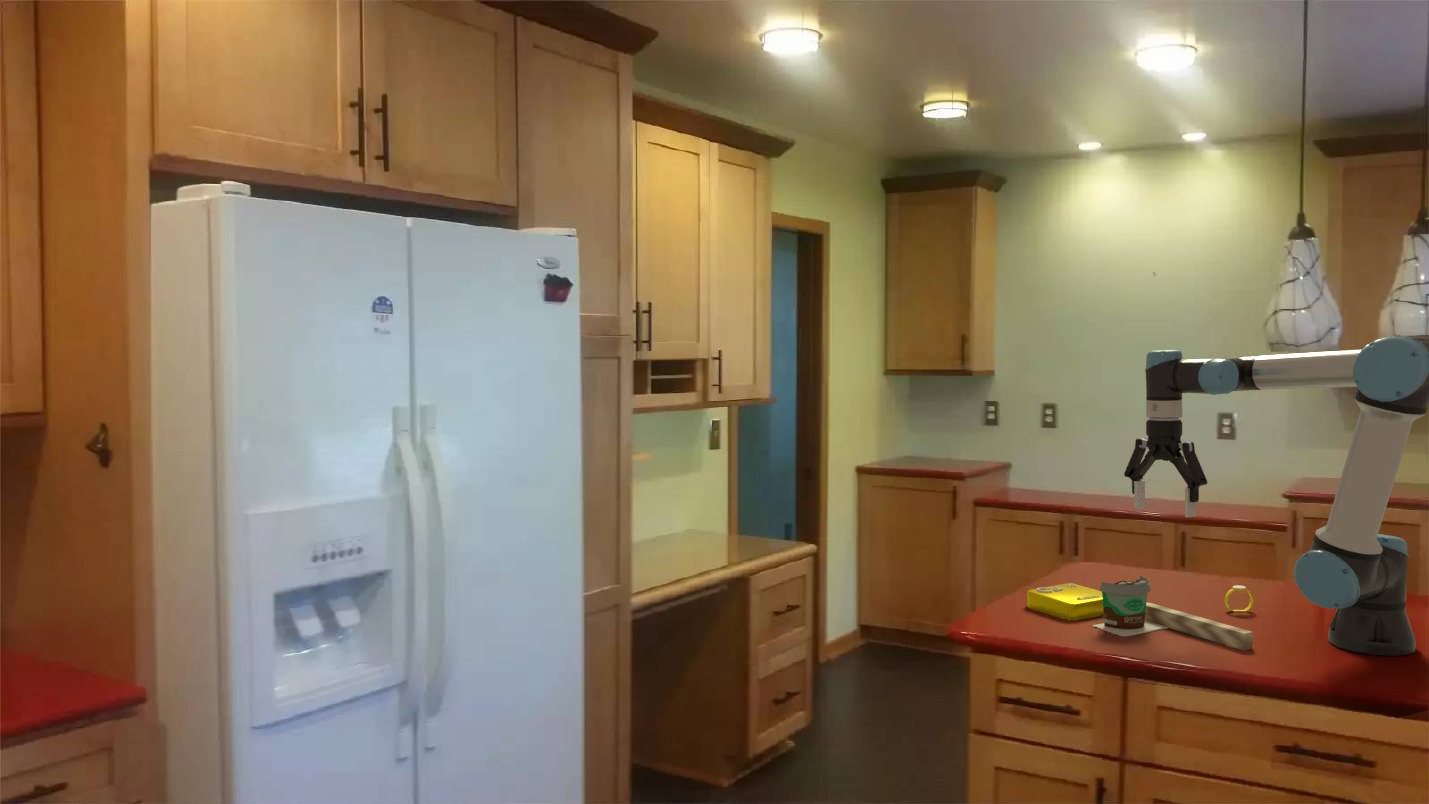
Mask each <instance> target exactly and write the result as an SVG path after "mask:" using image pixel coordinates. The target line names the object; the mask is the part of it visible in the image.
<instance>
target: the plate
mask: <svg viewBox="0 0 1429 804" xmlns="http://www.w3.org/2000/svg"><path fill="white" fill-rule="evenodd" d="M1092 627H1093V628H1095V627H1097V628H1096V629H1098V628H1100V629H1099V630H1101V629H1103V630H1102V631H1104V630H1105V632H1107V631H1108V632H1107V633H1110V632H1111V634H1113V635H1116V634H1117V636H1119V637H1122V636H1123V638H1125V636H1126V637H1130V636H1135V635H1140V634H1146V633H1151V632H1155V631H1162V630H1167V629H1169V628H1168V627H1166V626H1163V625H1159V624H1156V623H1153V622H1150V621H1146V620H1145V622H1144V627H1142V628H1139V629H1116V628H1111V627H1107V626H1105V624H1104V622H1103V623H1098V624H1097V623H1096V624H1092V626H1091V628H1092Z"/></svg>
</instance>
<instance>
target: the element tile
mask: <svg viewBox="0 0 1429 804" xmlns="http://www.w3.org/2000/svg"><path fill="white" fill-rule="evenodd" d="M1026 594H1027V595H1026V596H1027V602H1026V603H1027V606H1026V607H1027V608H1028V609H1030V610H1034V611H1036V612H1039V611H1041V612H1040V613H1042V612H1043V614H1047V615H1049V614H1050V616H1052V617H1055V616H1056V618H1058V617H1059V619H1061V618H1062V620H1064V619H1070V620H1069V621H1071V620H1074V621H1078V620H1077V619H1081V620H1086V619H1091V618H1095V617H1096V618H1097V617H1102V616H1104V611H1103V598H1102V592H1101V591H1100V590H1097V589H1094V588H1092V587H1091V588H1090V587H1086V586H1083V585H1079V584H1076V583H1073V582H1068V583H1067V582H1066V583H1062V584H1056V585H1051V586H1044V587H1037V588H1030V589H1029V590H1027V593H1026ZM1101 615H1102V616H1101Z"/></svg>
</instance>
